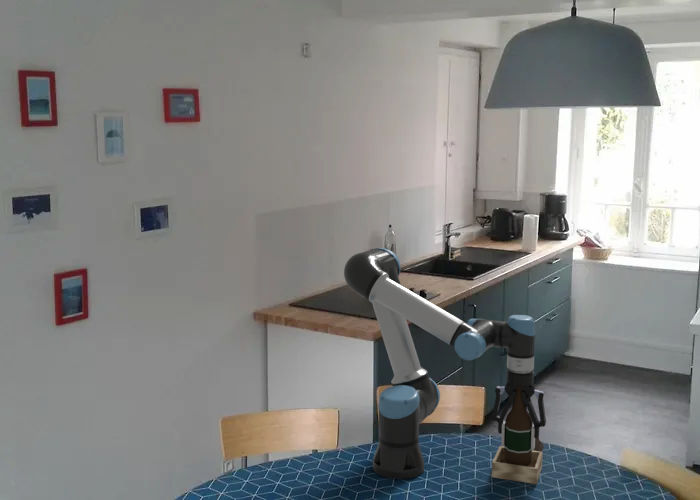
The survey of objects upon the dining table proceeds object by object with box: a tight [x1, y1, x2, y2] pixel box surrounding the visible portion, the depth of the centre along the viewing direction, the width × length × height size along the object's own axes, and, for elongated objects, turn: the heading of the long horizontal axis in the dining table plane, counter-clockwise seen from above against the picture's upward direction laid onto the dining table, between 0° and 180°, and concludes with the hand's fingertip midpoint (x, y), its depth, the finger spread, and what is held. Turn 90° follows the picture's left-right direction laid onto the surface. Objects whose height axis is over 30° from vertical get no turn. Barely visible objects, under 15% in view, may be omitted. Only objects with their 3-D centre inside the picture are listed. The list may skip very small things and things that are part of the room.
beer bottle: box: [504, 386, 534, 466], centre depth 215 cm, size 8×8×24 cm
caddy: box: [491, 445, 544, 485], centre depth 216 cm, size 13×13×4 cm
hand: (518, 446), depth 215 cm, fingers closed on beer bottle, 8 cm apart
